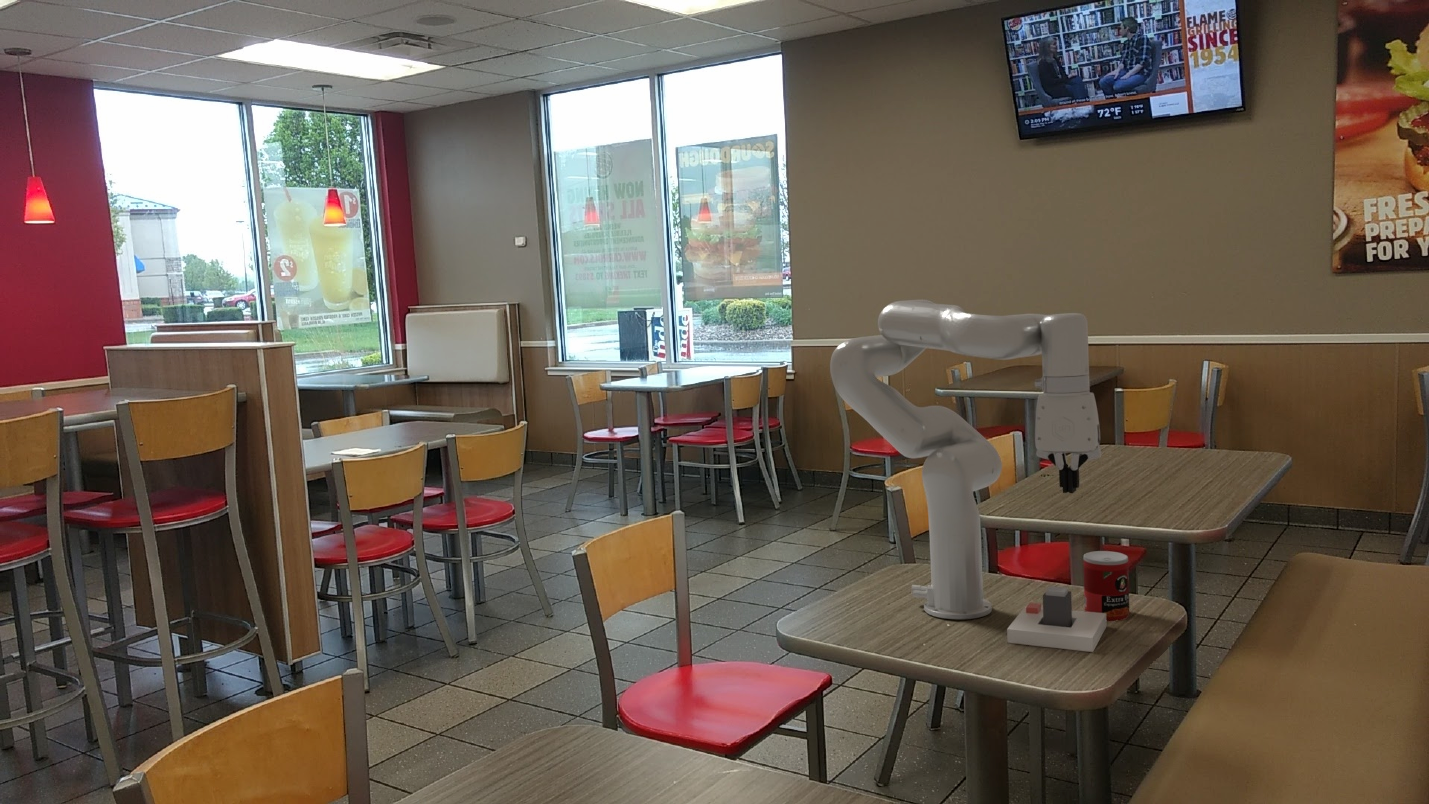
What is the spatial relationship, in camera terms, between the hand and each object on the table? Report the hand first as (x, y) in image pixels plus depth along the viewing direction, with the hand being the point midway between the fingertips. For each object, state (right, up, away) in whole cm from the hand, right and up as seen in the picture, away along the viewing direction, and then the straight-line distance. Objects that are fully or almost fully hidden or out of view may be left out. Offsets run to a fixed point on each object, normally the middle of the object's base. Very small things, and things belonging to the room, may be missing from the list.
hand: (1069, 491), depth 179 cm
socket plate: (-1, -25, +2) cm, 25 cm away
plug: (-1, -25, +2) cm, 25 cm away
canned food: (+11, -24, +11) cm, 29 cm away
